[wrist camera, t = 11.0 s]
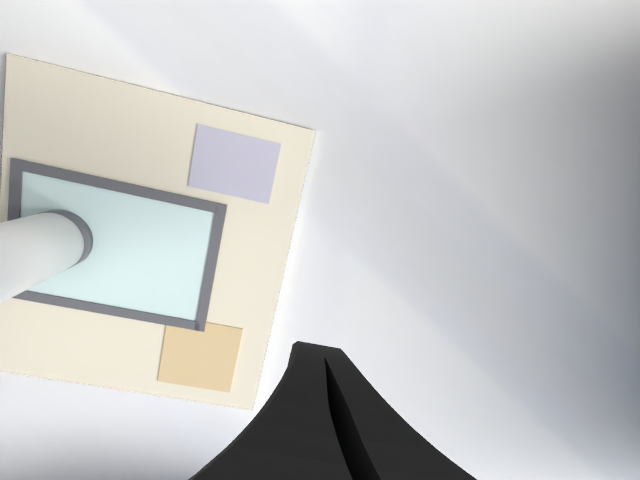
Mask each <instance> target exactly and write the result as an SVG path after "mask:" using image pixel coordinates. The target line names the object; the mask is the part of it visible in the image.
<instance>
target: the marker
mask: <svg viewBox="0 0 640 480" xmlns="http://www.w3.org/2000/svg"><path fill="white" fill-rule="evenodd" d="M92 247H93V236H92V232H91V230H90V228H89V226H88V225H87V223H86V222H85V221H84V220H83V219H82V218H81V217H79V216H78V215H76V214H74V213H72V212H70V211H66V210H50V211H46V212H42V213H38V214H35V215H31V216H27V217H23V218H19V219H14V220H10V221H6V222H2V223H0V303H2V302H4V301H6V300H8V299H10V298H12V297H14V296H16V295H18V294H20V293H21V292H23V291H25V290H27V289H29V288H31V287H33V286H35V285H37V284H39V283H41V282H43V281H45V280H47V279H48V278H50V277H52V276H54V275H56V274H58V273H60V272H62V271H64V270H66V269H68V268H71V267H72V266H74V265H76V264H78V263H80V262H82V261H83V260H85V259H86V258H87V257H88V255H89V254H90V252H91V250H92Z"/></svg>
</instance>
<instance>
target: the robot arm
mask: <svg viewBox="0 0 640 480" xmlns="http://www.w3.org/2000/svg"><path fill="white" fill-rule="evenodd" d="M189 480H476V479H475V478H474V477H472V476H471V475H470V474H468V473H467V472H466V471H464V470H463V469H462V468H460V467H459V466H458V465H456V464H455V463H454V462H452V461H451V460H450V459H448V458H447V457H446V456H445V455H443V454H442V453H441V452H440V451H438V450H437V449H436V448H435V447H434V446H433V445H431V444H430V443H429V442H428V441H427V440H426V439H424V438H423V437H422V436H421V435H420V434H419V433H418V432H416V431H415V430H414V429H413V428H412V427H411V426H410V425H409V424H408V423H407V422H406V421H405V420H404V419H403V418H402V417H401V416H400V415H399V414H398V413H397V412H396V411H395V410H394V409H393V408H392V407H391V406H390V405H389V404H388V403H387V402H386V401H385V400H384V399H383V398H382V397H381V395H380V394H379V393H378V392H377V391H376V390H375V389H374V388H373V386H372V385H371V384H370V383H369V382H368V381H367V379H366V378H365V377H364V376H363V375H362V374H361V372H360V371H359V370H358V369H357V367H356V366H355V365H354V364H353V363H352V361H351V360H350V359H349V358H348V357H347V355H346V354H345V353H344V352H343V351H342V350H341V349H339V348H334V347H328V346H322V345H317V344H311V343H305V342H300V341H297V342H296V343H294V344H293V346H292V350H291V354H290V358H289V362H288V367H287V369H286V371H285V373H284V375H283V377H282V379H281V380H280V382H279V384H278V385H277V387H276V388H275V390H274V392H273V393H272V395H271V396H270V398H269V399H268V401H267V402H266V403H265V405H264V406H263V407H262V409H261V410H260V411H259V413H258V414H257V415H256V416H255V417H254V419H253V420H252V421H251V422H250V423H249V424H248V425H247V427H246V428H245V429H244V430H243V431H242V432H241V433H240V434H239V435H238V436H237V437H236V438H235V439H234V440H233V441H232V442H231V443H230V444H229V445H228V446H227V447H226V448H225V449H224V450H223V451H222V452H221V453H220V454H218V455H217V456H216V457H215V458H214V459H213V460H211V461H210V462H209V463H208V464H207V465H206V466H204V467H203V468H202V469H201V470H200V471H199V472H198V473H196V474H195V475H194V476H192V477H191V478H190V479H189Z"/></svg>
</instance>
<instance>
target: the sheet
mask: <svg viewBox="0 0 640 480" xmlns="http://www.w3.org/2000/svg"><path fill="white" fill-rule="evenodd" d="M315 133H316V131H314V130H310V129H306V128H302V127H298V126H294V125H290V124H286V123H282V122H279V121H275V120H271V119H267V118H263V117H259V116H255V115H251V114H247V113H243V112H239V111H235V110H231V109H227V108H223V107H219V106H215V105H211V104H207V103H203V102H199V101H195V100H191V99H187V98H183V97H179V96H175V95H171V94H167V93H163V92H160V91H156V90H152V89H148V88H144V87H140V86H136V85H132V84H128V83H124V82H120V81H116V80H112V79H108V78H104V77H100V76H96V75H92V74H88V73H84V72H80V71H76V70H72V69H68V68H64V67H60V66H56V65H52V64H48V63H44V62H41V61H37V60H33V59H29V58H25V57H21V56H17V55H13V54H9V53H7V57H6V80H5V103H4V125H3V148H2V170H1V193H0V223H2V222H6V221H10V220H14V219H19V218H23V217H27V216H31V215H35V214H38V213H42V212H46V211H50V210H66V211H70V212H72V213H74V214H76V215H78V216H79V217H81V218H82V219H83V220H84V221H85V222H86V223H87V225H88V226H89V228H90V230H91V232H92V236H93V247H92V250H91V252H90V254H89V255H88V257H87V258H86V259H85V260H83V261H82V262H80V263H78V264H76V265H74V266H72V267H71V268H68V269H66V270H64V271H62V272H60V273H58V274H56V275H54V276H52V277H50V278H48V279H47V280H45V281H43V282H41V283H39V284H37V285H35V286H33V287H31V288H29V289H27V290H25V291H23V292H21V293H20V294H18V295H16V296H14V297H12V298H10V299H8V300H6V301H4V302H2V303H0V372H6V373H12V374H19V375H25V376H32V377H38V378H45V379H51V380H58V381H64V382H71V383H77V384H84V385H90V386H97V387H103V388H110V389H116V390H123V391H129V392H136V393H142V394H149V395H155V396H162V397H168V398H175V399H181V400H188V401H194V402H201V403H207V404H214V405H220V406H227V407H233V408H240V409H246V410H253V408H254V404H255V399H256V395H257V391H258V386H259V382H260V377H261V373H262V368H263V364H264V359H265V355H266V351H267V346H268V342H269V337H270V333H271V328H272V324H273V320H274V315H275V311H276V306H277V302H278V297H279V293H280V288H281V284H282V280H283V275H284V271H285V266H286V262H287V257H288V253H289V249H290V244H291V240H292V235H293V231H294V226H295V222H296V218H297V213H298V209H299V204H300V200H301V195H302V191H303V186H304V182H305V178H306V173H307V169H308V164H309V160H310V155H311V151H312V147H313V142H314V138H315Z"/></svg>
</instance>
